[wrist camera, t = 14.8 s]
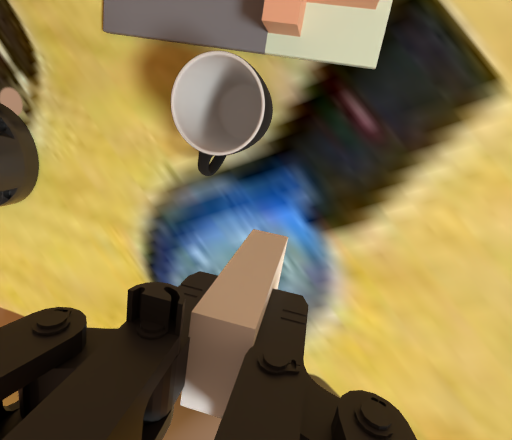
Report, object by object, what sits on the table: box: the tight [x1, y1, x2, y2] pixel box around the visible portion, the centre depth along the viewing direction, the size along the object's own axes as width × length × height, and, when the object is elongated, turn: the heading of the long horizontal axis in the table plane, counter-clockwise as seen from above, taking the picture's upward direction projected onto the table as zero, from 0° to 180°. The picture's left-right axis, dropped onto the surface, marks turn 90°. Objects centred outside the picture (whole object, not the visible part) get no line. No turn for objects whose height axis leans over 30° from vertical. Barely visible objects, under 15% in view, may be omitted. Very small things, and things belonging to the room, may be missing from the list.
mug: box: [171, 51, 273, 176], centre depth 34 cm, size 12×9×10 cm
